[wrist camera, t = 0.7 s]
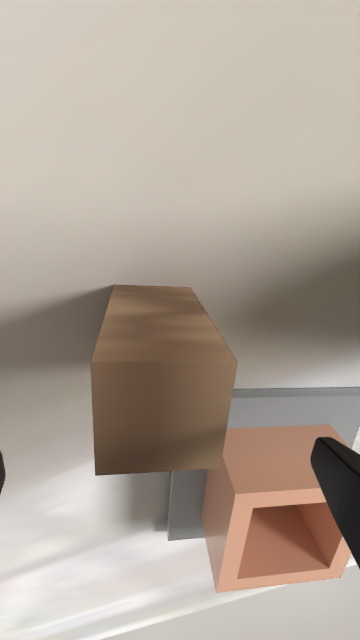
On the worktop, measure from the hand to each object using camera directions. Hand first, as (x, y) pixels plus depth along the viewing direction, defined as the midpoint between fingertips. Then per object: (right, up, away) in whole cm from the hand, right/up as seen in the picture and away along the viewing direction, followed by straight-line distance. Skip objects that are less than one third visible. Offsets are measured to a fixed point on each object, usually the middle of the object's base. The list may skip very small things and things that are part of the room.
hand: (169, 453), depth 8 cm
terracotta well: (+7, -8, +15) cm, 18 cm away
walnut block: (-1, +4, +10) cm, 11 cm away
